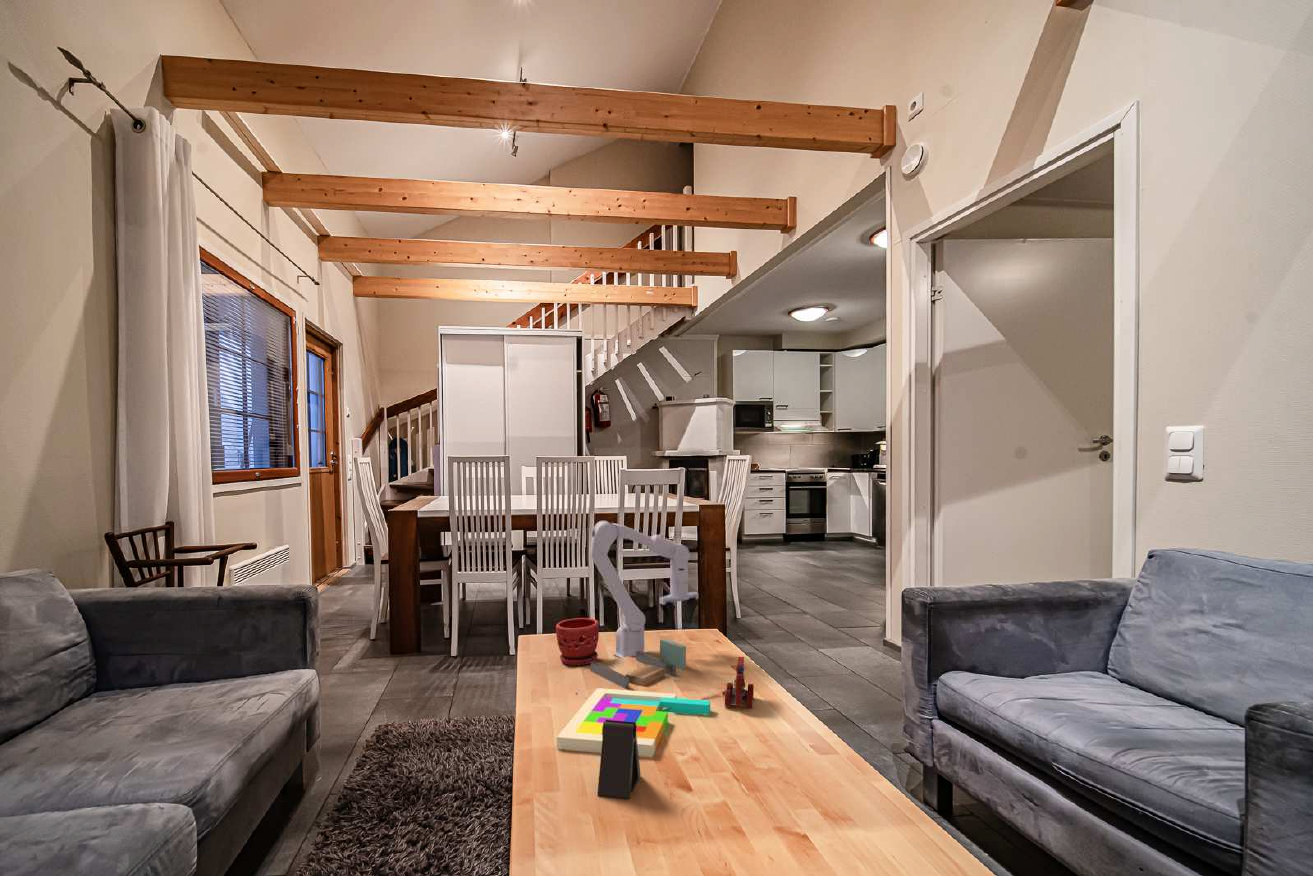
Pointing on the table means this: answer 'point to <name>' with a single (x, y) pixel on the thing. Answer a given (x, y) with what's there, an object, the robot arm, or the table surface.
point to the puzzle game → (625, 718)
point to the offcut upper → (645, 674)
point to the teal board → (673, 653)
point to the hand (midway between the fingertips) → (679, 623)
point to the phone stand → (618, 759)
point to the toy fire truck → (739, 689)
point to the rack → (624, 680)
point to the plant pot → (578, 640)
